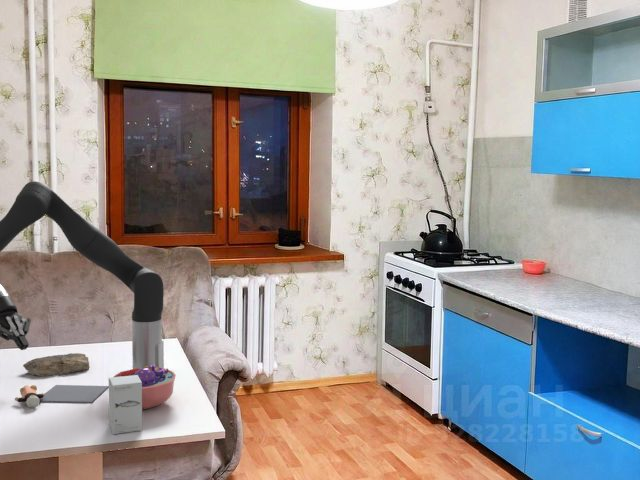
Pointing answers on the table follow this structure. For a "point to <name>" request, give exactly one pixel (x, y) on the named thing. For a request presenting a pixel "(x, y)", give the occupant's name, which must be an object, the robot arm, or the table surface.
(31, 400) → the grandmother figurine
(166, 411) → the table surface
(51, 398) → the felt mat
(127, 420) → the supplement box
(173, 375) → the cell model
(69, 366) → the clay tablet
